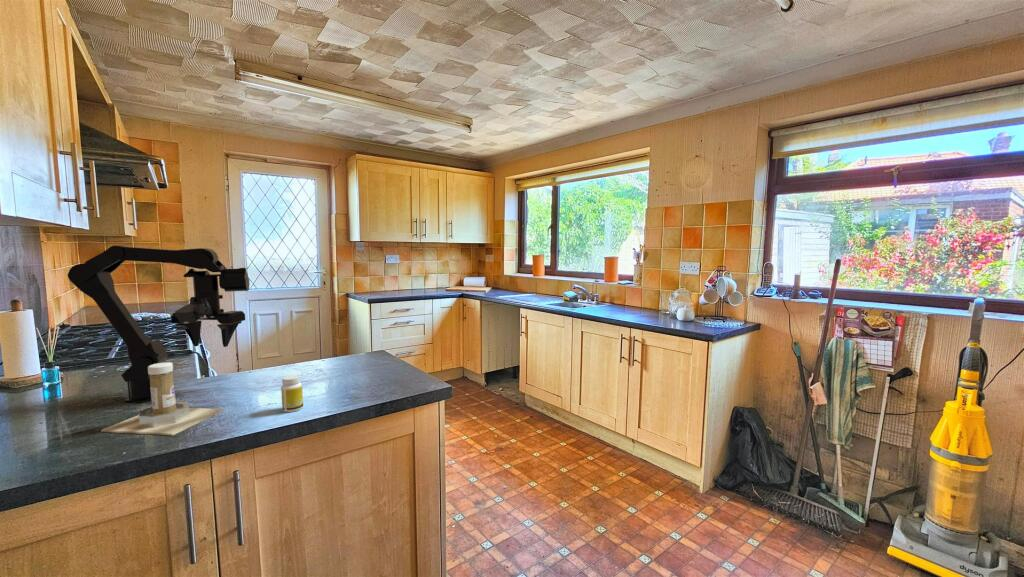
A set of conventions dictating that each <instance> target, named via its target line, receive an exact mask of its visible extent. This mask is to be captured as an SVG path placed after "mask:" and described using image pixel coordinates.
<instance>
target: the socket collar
mask: <svg viewBox="0 0 1024 577" xmlns="http://www.w3.org/2000/svg"><path fill="white" fill-rule="evenodd" d="M175 404H176V411H173V412H169V413H164V414H159V415H153V408H152V406H151V407H148V408H144V409H142V410H140V412H139V414H138V415H139V421H140V427H159V426H164V425H169V424H173V423H177V422H179V421H181V420H183V419H186V418H188V417H190V416H189V408H190V406H189V404H190V403H189V402H188V401H187V402H185V401H176V403H175Z"/></svg>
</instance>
